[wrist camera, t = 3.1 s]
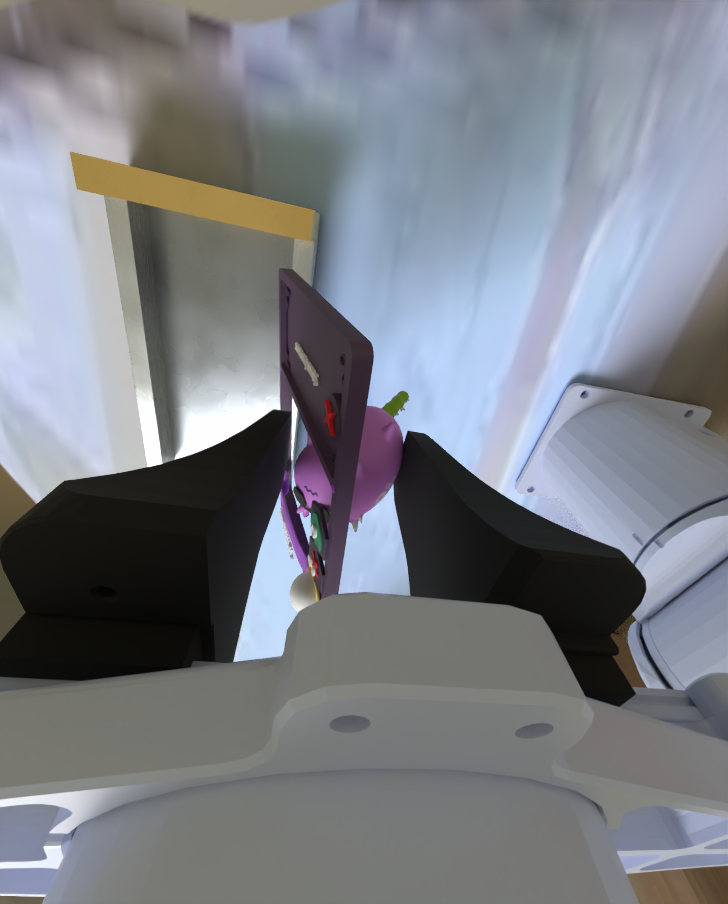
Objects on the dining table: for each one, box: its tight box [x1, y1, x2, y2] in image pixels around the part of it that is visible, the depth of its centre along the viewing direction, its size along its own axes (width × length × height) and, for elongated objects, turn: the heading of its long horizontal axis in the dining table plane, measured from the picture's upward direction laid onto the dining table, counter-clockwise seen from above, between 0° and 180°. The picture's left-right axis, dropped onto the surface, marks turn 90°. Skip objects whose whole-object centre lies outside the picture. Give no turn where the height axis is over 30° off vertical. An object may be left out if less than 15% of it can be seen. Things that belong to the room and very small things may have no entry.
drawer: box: [70, 152, 321, 474], centre depth 17 cm, size 8×14×4 cm, turn 169°
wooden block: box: [610, 633, 728, 904], centre depth 27 cm, size 10×10×20 cm
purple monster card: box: [279, 268, 409, 612], centre depth 11 cm, size 7×5×9 cm
